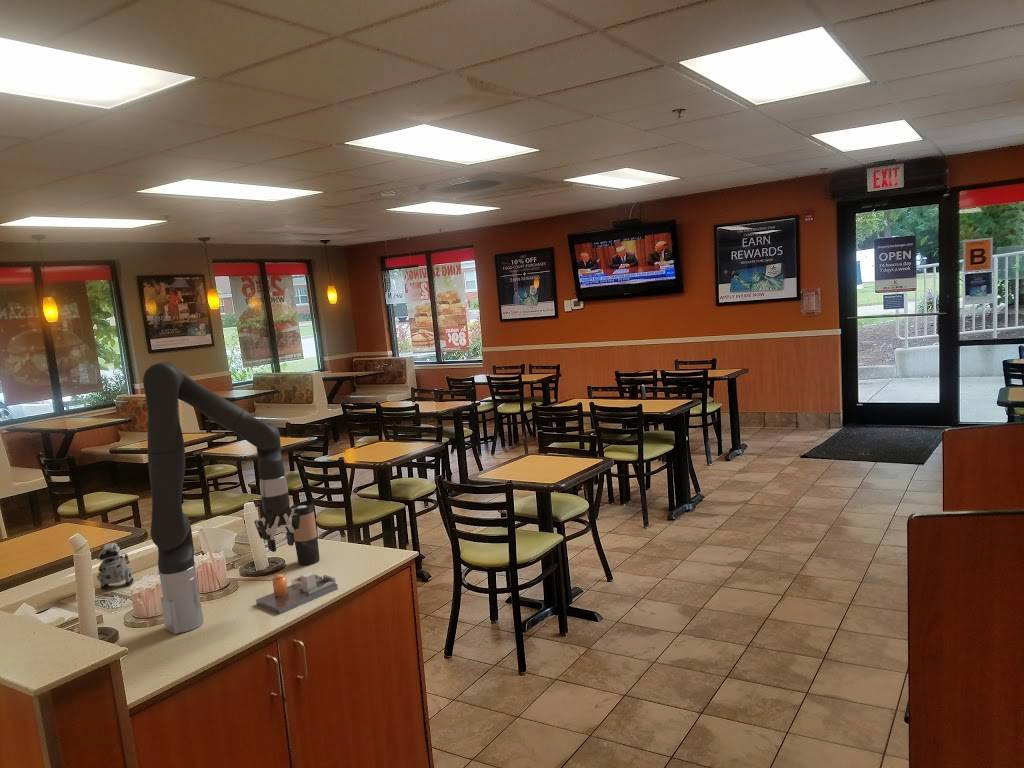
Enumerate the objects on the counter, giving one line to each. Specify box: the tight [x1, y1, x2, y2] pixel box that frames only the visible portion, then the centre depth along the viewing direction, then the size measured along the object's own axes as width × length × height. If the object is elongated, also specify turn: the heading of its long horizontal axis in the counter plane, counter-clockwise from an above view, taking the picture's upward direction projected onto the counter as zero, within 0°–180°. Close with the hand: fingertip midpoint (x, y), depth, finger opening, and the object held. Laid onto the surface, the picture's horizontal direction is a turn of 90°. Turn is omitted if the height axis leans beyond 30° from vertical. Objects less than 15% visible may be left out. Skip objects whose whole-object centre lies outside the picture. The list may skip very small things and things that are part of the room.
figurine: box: [96, 542, 135, 591], centre depth 239 cm, size 9×12×15 cm
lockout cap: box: [271, 573, 288, 597], centre depth 218 cm, size 4×4×6 cm
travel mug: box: [290, 501, 321, 567], centre depth 247 cm, size 8×8×20 cm
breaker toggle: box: [300, 571, 317, 593], centre depth 218 cm, size 3×3×5 cm
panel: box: [255, 574, 339, 615], centre depth 218 cm, size 20×13×3 cm, turn 138°
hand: (282, 547), depth 211 cm, fingers open, 5 cm apart
